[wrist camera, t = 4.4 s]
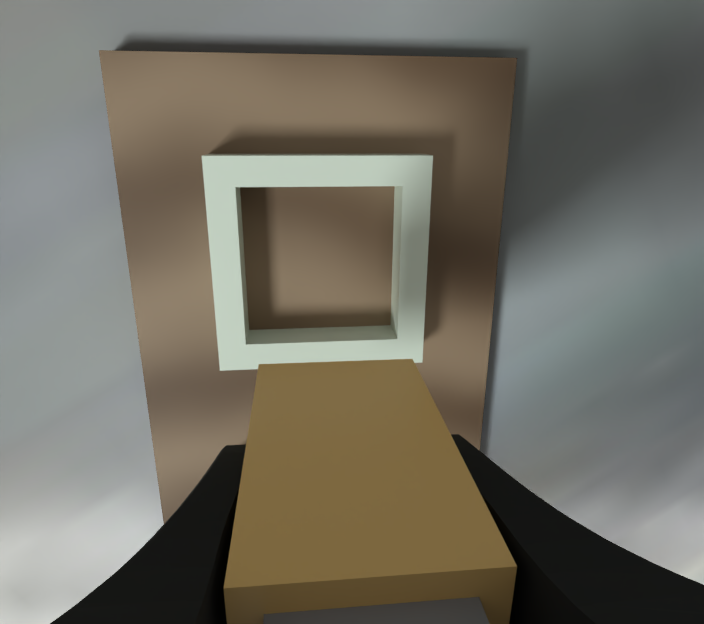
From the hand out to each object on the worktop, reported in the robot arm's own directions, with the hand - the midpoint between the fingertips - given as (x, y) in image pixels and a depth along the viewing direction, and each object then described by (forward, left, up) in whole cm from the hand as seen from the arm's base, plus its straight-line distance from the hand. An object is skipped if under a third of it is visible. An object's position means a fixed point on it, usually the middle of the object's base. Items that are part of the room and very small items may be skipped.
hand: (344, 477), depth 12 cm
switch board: (-3, 0, -11) cm, 11 cm away
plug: (0, 0, -3) cm, 3 cm away
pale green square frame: (+3, 0, -11) cm, 11 cm away
